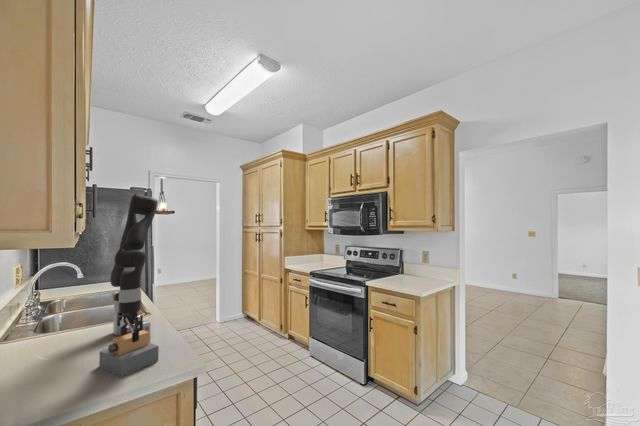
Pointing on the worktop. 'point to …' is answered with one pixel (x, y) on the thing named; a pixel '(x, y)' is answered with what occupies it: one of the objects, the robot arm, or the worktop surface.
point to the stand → (128, 359)
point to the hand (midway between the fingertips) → (129, 339)
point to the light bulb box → (145, 326)
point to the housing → (128, 343)
